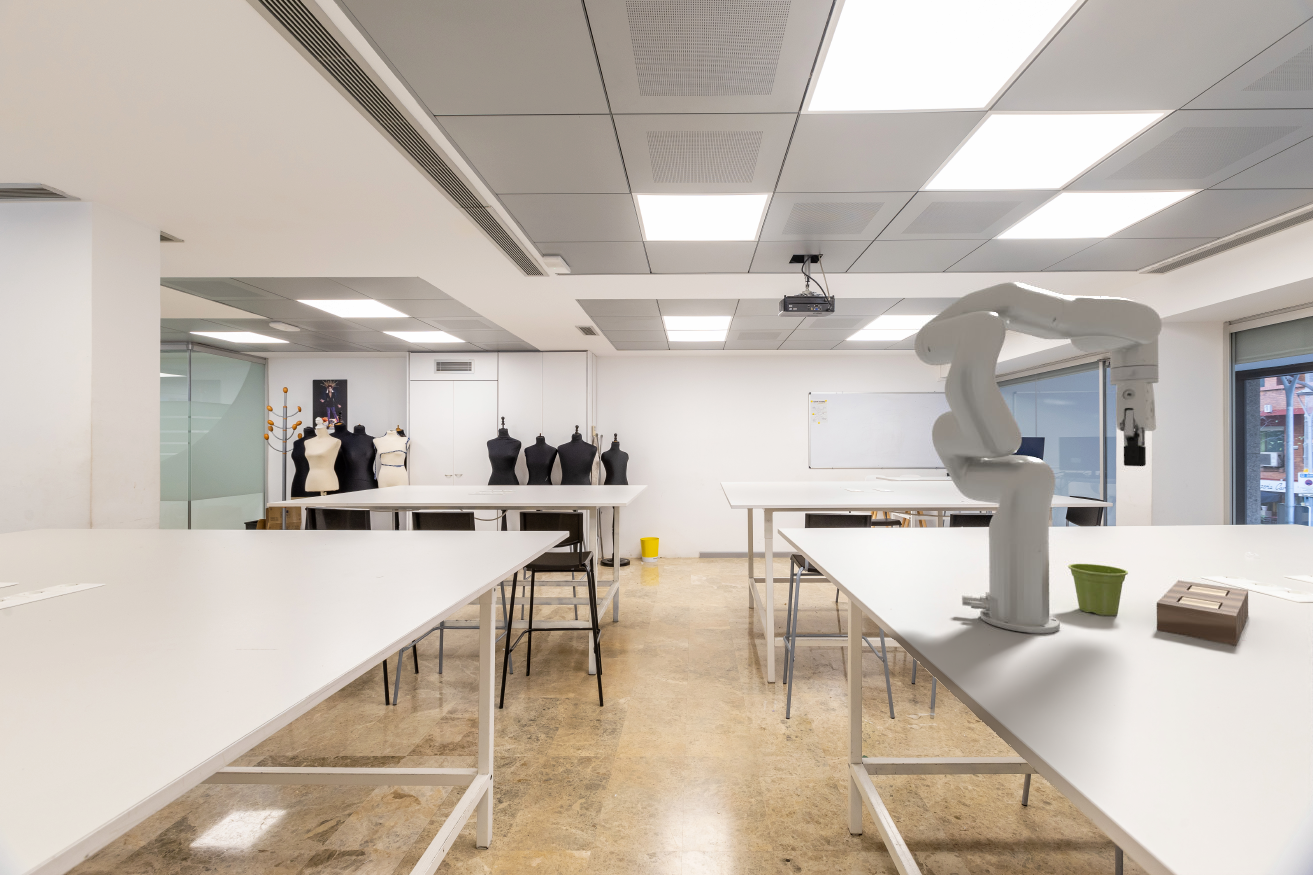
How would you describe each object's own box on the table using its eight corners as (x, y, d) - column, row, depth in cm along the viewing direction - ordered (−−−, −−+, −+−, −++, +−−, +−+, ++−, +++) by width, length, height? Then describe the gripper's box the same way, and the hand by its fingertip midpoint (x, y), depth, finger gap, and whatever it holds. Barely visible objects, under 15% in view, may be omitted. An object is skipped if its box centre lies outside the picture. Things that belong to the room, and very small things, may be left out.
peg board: (1236, 645, 93) (1236, 615, 93) (1156, 630, 101) (1156, 602, 101) (1248, 615, 109) (1248, 589, 109) (1178, 604, 116) (1178, 580, 116)
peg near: (1217, 636, 97) (1217, 608, 97) (1178, 628, 101) (1178, 602, 101) (1221, 629, 101) (1220, 603, 101) (1183, 622, 104) (1182, 597, 104)
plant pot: (1058, 603, 117) (1058, 562, 117) (1108, 605, 116) (1107, 563, 116) (1086, 617, 108) (1086, 573, 108) (1140, 619, 107) (1140, 574, 107)
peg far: (1225, 621, 105) (1224, 595, 105) (1188, 614, 109) (1188, 590, 109) (1228, 615, 108) (1227, 590, 108) (1192, 609, 112) (1192, 585, 112)
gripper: (1151, 372, 107) (1151, 467, 107) (1165, 377, 116) (1165, 465, 116) (1101, 375, 112) (1102, 466, 112) (1119, 380, 122) (1119, 464, 122)
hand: (1134, 465), depth 114 cm, fingers closed
